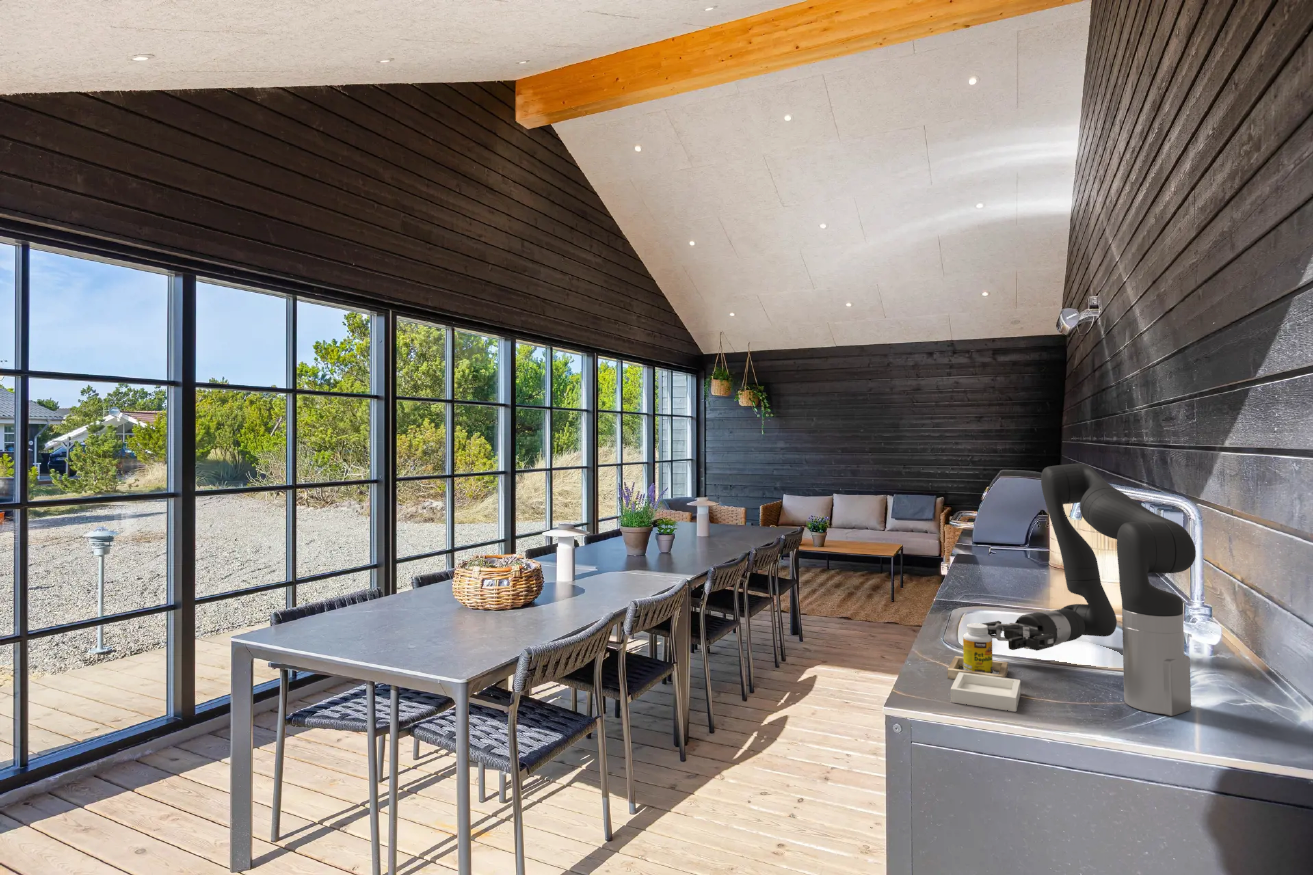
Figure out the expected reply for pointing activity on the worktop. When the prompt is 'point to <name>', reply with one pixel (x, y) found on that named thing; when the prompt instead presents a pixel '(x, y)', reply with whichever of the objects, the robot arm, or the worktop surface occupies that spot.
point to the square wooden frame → (959, 661)
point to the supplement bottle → (977, 649)
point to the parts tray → (986, 691)
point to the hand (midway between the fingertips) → (992, 639)
